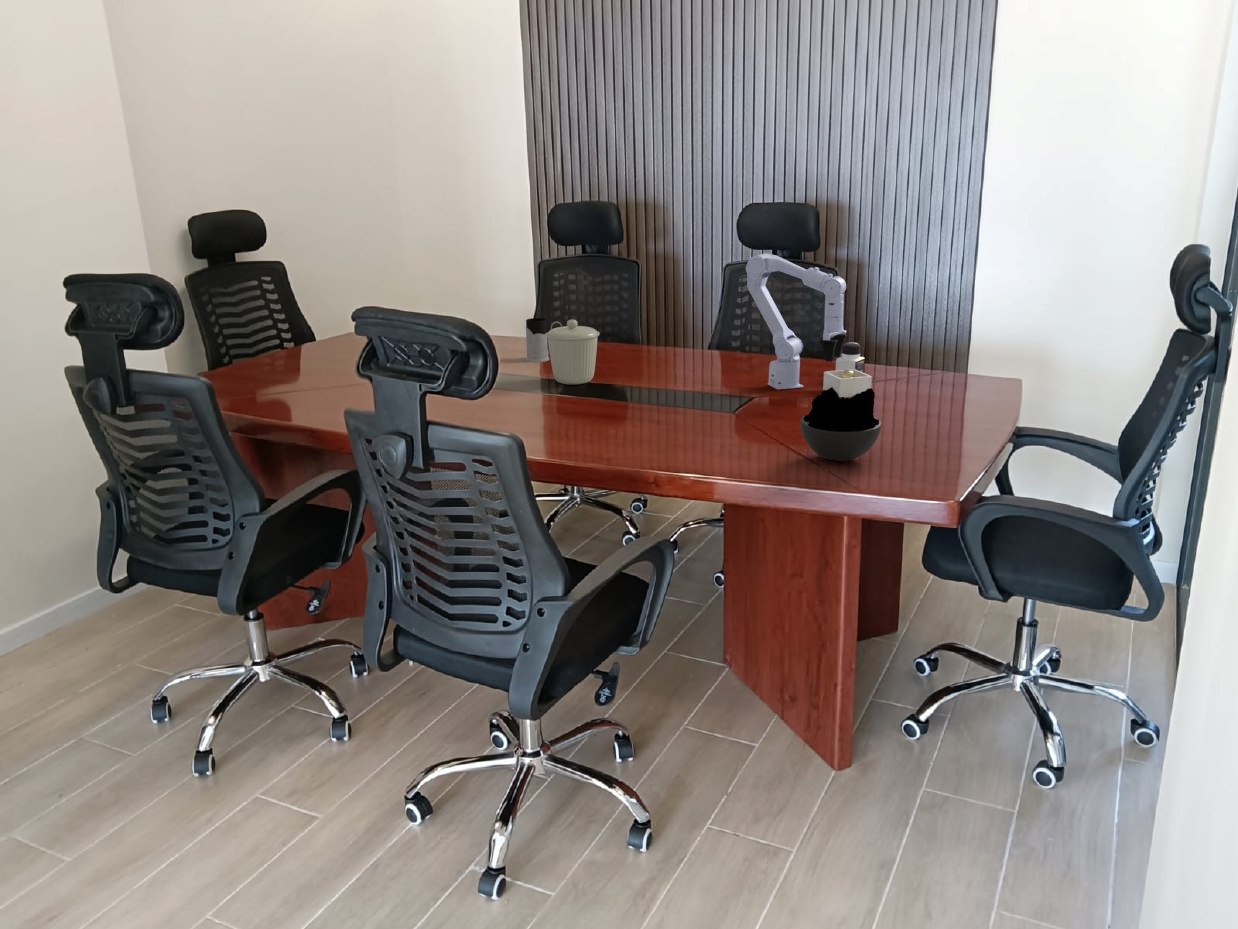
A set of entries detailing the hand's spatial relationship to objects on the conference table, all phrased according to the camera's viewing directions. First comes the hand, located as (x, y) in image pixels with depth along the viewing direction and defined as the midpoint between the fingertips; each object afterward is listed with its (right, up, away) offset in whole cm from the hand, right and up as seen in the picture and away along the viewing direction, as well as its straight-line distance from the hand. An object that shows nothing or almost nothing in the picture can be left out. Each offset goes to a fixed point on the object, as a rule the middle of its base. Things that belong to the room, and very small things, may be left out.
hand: (832, 358), depth 320 cm
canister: (-83, -6, +21) cm, 86 cm away
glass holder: (-96, +6, +57) cm, 111 cm away
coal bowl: (-12, -32, -65) cm, 74 cm away
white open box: (+5, -11, +1) cm, 12 cm away
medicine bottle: (+10, -5, +19) cm, 22 cm away
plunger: (+5, -9, 0) cm, 10 cm away
